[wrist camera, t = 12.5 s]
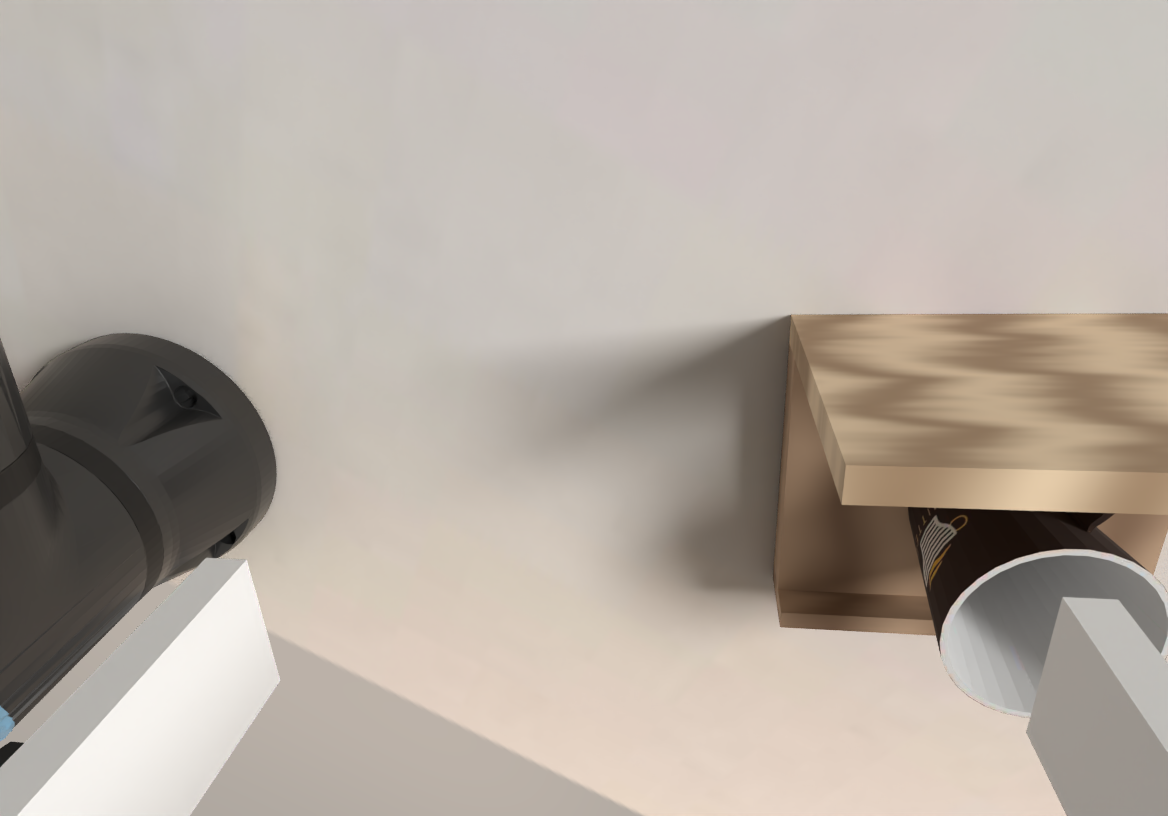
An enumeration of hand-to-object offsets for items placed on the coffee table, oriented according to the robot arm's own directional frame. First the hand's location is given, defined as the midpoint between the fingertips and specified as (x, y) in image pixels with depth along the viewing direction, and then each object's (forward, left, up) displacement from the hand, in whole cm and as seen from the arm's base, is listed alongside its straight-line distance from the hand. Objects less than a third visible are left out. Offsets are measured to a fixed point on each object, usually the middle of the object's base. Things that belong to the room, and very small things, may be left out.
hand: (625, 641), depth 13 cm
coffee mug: (+17, -12, -26) cm, 33 cm away
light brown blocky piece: (+16, -12, -29) cm, 35 cm away
